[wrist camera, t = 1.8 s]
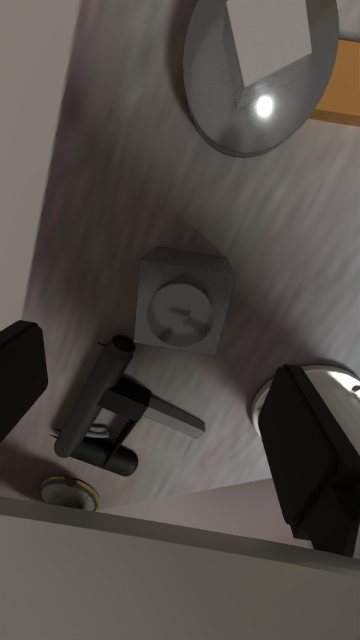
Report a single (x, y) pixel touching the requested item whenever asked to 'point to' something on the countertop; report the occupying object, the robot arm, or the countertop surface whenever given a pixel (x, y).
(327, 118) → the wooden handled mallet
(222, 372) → the countertop surface
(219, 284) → the socket
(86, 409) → the door handle
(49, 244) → the countertop surface
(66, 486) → the apothecary jar
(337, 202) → the countertop surface
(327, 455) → the robot arm
